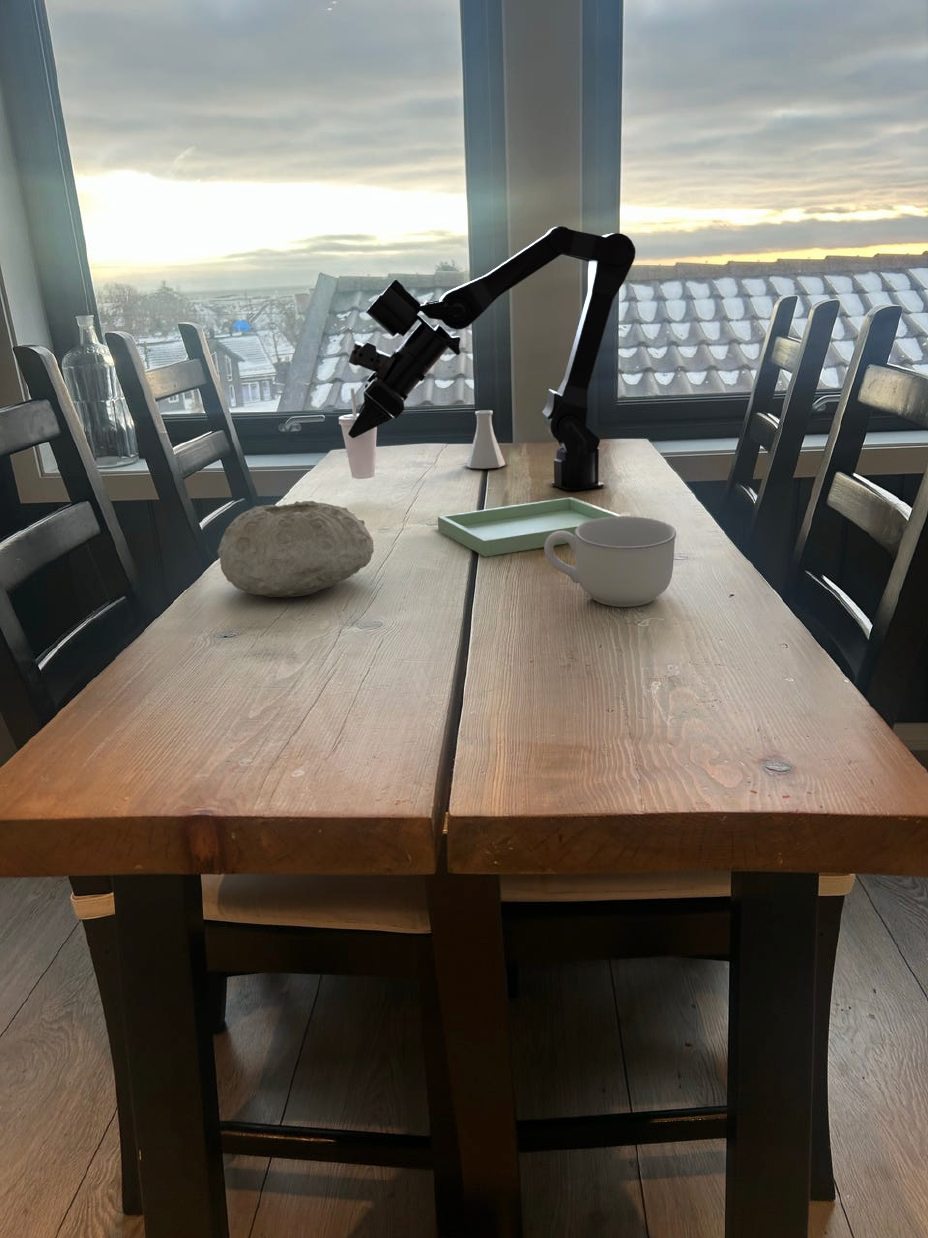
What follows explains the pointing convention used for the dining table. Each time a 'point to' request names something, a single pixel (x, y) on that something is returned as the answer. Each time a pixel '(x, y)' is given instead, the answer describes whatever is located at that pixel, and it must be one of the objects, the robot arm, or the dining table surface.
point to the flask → (485, 444)
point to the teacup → (619, 558)
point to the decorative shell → (293, 548)
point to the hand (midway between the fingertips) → (351, 432)
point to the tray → (518, 525)
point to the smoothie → (359, 446)
